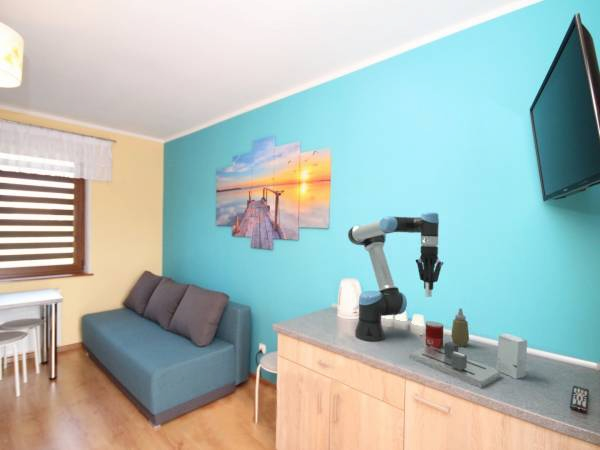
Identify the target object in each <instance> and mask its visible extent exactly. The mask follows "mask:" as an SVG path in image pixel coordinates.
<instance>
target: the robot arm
mask: <svg viewBox="0 0 600 450" xmlns="http://www.w3.org/2000/svg"><path fill="white" fill-rule="evenodd" d="M439 220H440V219H439V213H437V212H422V213H421V214H420V217H418V216H417V217H415V216H414V217H413V216H412V217H411V216H409V217H407V216H391V215H388V216H383V217H382V218H381V219H380V220H376V221H374V222H371V223H368V224H364V225H360V224H359V225H354V226H352V227H351V228H350V229H349V230H348V232H347V233H348V234H347V236H348V237H347V238H348V239H349V242H351V243H352V244H353V245H357V246H363V247H364V249H365V251H367V252H368V253H369V254H368V255H369V257H370V261H371V265H372V269H373V272H374V276H375V279H376V283H377V286H378V290H367V291H363V292H361V293H360V295H359V297H358V299H359V300H358V322H357V324H356V328H355V331H354V336H355V337H356V338H357V339H360V340H362V341H368V342H379V341H382V340H384V339H385V332H384V330H383V326H382V317H383V316H384V317H385V316H397V315H401V314H403V313H404V312H405V311H406V308H407V306H408V303H407V302H408V300H407V296H406V295H405V293H403V292H400V290H399V287H397V286H396V285H395V283H394V280H393V276H392V274H391V270H390V268H389V265H388V261H387V257H386V254H385V252H384V246H385V243H386V238H387V235H388V234H392V233H409V234H412V233H414V234H415V233H416V234H417V233H419V234H420V245H421V246H420V256H419V258H418V259H415V262H416V265H417V268H418V269H417V270H418V274H419V279H420V281H422V282H423V289H424V291H425V292H424V293H425V294H424V295H425V296H424V297H426V298H429V297H432V296H433V294H432V293H433V292H432V291H433V290H434V283H437V282H438V281H439V276H440V273H441V269H442V267H443V265H444V262H443V261H441V260H440V259H439V257H438V256H439V247H438V245H439V226H440V225H439V224H440V221H439Z"/></svg>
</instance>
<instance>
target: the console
mask: <svg viewBox="0 0 600 450" xmlns="http://www.w3.org/2000/svg"><path fill="white" fill-rule="evenodd" d="M443 346H444V350H443V349H442V348H436V347H433V346H425V347H423V348H420V349H417V350H414V351H411V352H409V359H411V360H412V361H415V362H417V363H419V364H422V365H424V366H427V367H429V368H431V369H434V370H437V371H439V372H440V373H443V374H446V375H448V376H451V377H453V378H456V379H458V380H460V381H462V380H463V382H465V383H467V382H468V383H467V384H470V385H472V386H475V387H477V388H480V389H483V388H484V387H486V386H487V385H490V384H491V383H493V382H494V381H495V382H496V381H497V380H498V379H500V378H501V376H502V375H501V374H502V372H501V371H500V370H498V369H496V368H495V367H492V366H489V365H486V364H483V363H480V362H477V361H475V360H472V359H469V358H467V368H465V369H463V370H459V369H457V368H454V367H451V354H452V353H454V352H459V346H458V344H455V343H453V341H452V342H451V341H448V342H445V343H444V345H443Z"/></svg>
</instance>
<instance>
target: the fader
mask: <svg viewBox="0 0 600 450" xmlns="http://www.w3.org/2000/svg"><path fill="white" fill-rule="evenodd" d="M467 355H468V354H465V353H463V352H462V353H461V352H459V351H458V352H454V353H452V354H451V367H454V368H457V369H459V370H463V369H465V368H467V359H468V356H467Z"/></svg>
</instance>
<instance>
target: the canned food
mask: <svg viewBox="0 0 600 450" xmlns="http://www.w3.org/2000/svg"><path fill="white" fill-rule="evenodd" d="M425 345H426V347H428V346H433V347H436V348H438V349H442V348H443V346H444V324H443V323H441V322H439V321H429V320H428V321H425Z"/></svg>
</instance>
